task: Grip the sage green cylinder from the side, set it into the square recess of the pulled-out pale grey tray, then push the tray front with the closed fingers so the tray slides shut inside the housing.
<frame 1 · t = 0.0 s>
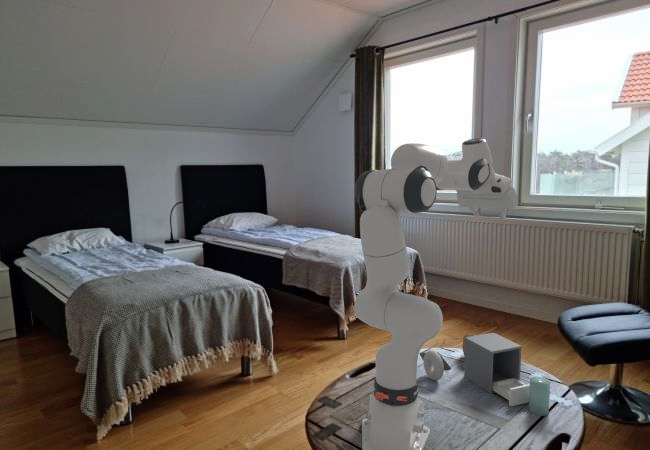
hand: (489, 217, 159), 54 cm above the table, tool tilted 30°, fingers open, 8 cm apart
tray: (512, 385, 144), point 3 cm above the table, slide at 8.0 cm
donut: (433, 379, 156), on the table
smartphone: (434, 362, 170), on the table
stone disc: (470, 360, 170), on the table
housing: (491, 381, 154), on the table
sage green cylinder: (538, 411, 135), on the table
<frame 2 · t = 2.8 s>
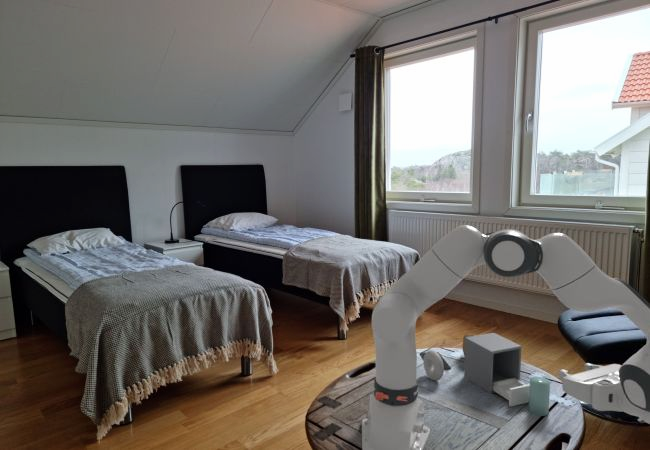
hand: (573, 369, 123), 17 cm above the table, tool horizontal, fingers open, 8 cm apart
nothing on the table moved.
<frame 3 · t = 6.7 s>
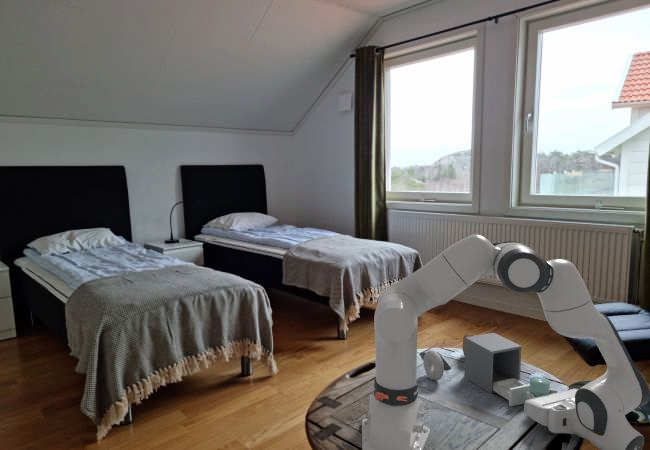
hand: (536, 392, 135), 6 cm above the table, tool horizontal, fingers closed on sage green cylinder, 5 cm apart
sage green cylinder: (538, 411, 135), on the table, touching gripper
everything else where it was.
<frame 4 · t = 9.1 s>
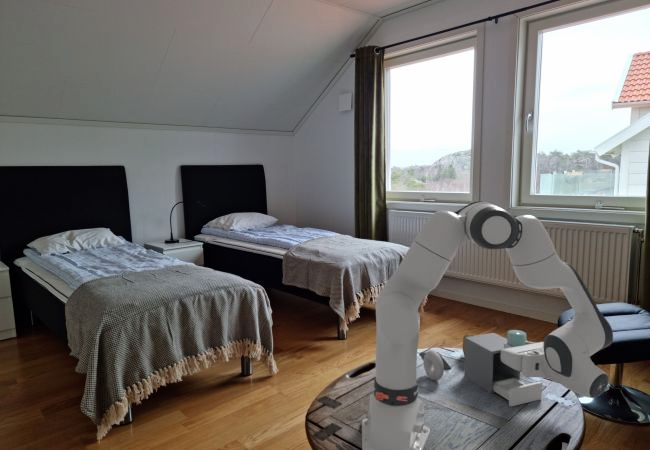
hand: (514, 344, 142), 17 cm above the table, tool horizontal, fingers closed on sage green cylinder, 5 cm apart
sage green cylinder: (515, 362, 142), point 11 cm above the table, touching gripper
everything else where it was.
when the fingers open (9 cm above the table, at t = 11.0 s): sage green cylinder drops 2 cm, resting on tray.
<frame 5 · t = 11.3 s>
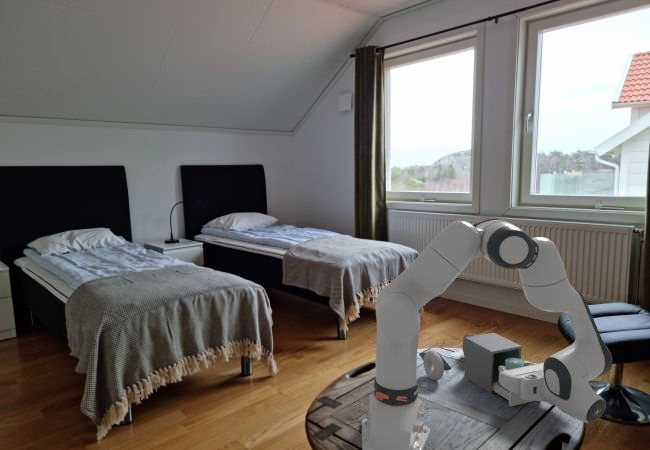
hand: (512, 365, 144), 9 cm above the table, tool horizontal, fingers open, 8 cm apart
tray: (512, 385, 144), point 3 cm above the table, slide at 8.0 cm, touching sage green cylinder
sage green cylinder: (513, 389, 144), point 2 cm above the table, touching tray
everything else where it was.
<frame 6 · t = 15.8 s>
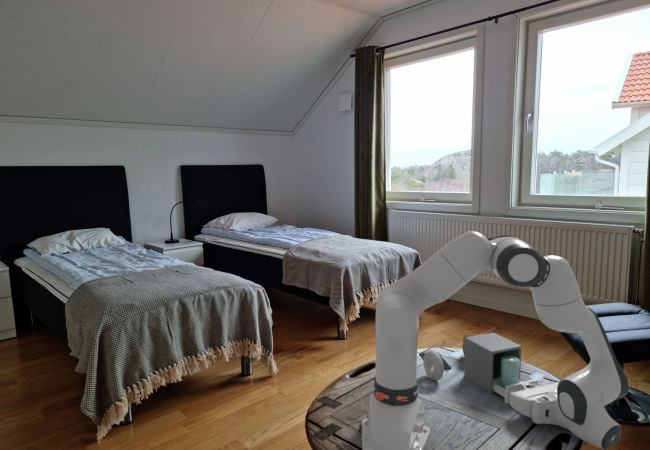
hand: (522, 385, 140), 5 cm above the table, tool horizontal, fingers closed, pressing on tray
tray: (508, 383, 146), point 3 cm above the table, slide at 6.3 cm, touching gripper, sage green cylinder
sage green cylinder: (509, 387, 146), point 2 cm above the table, touching tray
everything else where it was.
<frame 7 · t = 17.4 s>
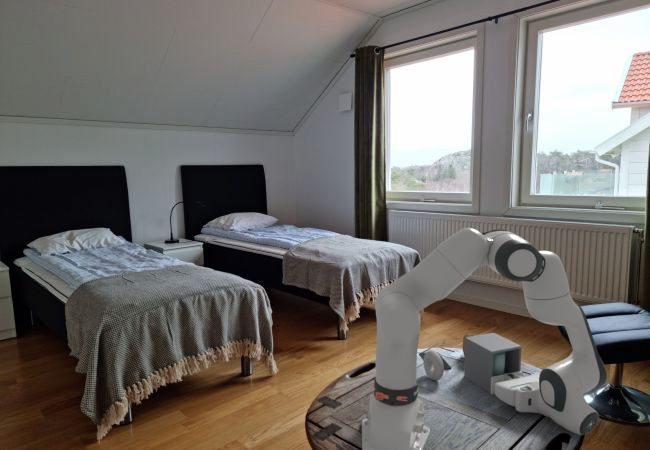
hand: (507, 376, 146), 5 cm above the table, tool horizontal, fingers closed, pressing on tray
tray: (494, 375, 152), point 3 cm above the table, slide at 0.0 cm, touching gripper, sage green cylinder
sage green cylinder: (495, 378, 151), point 2 cm above the table, touching tray
everything else where it was.
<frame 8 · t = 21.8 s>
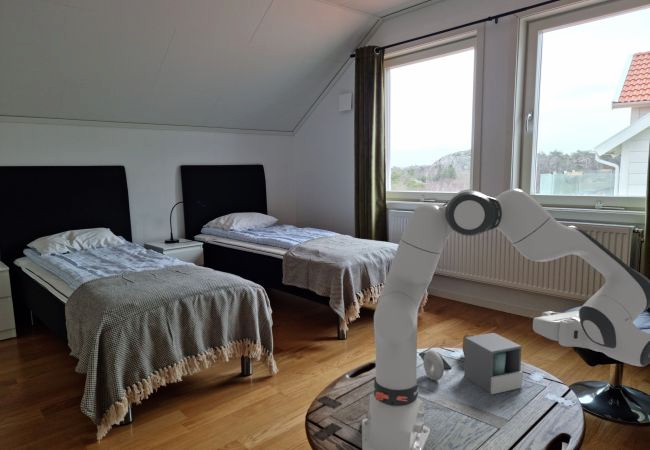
hand: (545, 314, 130), 30 cm above the table, tool horizontal, fingers closed
tray: (494, 375, 152), point 3 cm above the table, slide at 0.0 cm, touching sage green cylinder
everything else where it was.
at the end: tray slide at 0.0 cm; sage green cylinder inside the target area on the housing (0.2 cm from its centre), point 1.9 cm above the housing's base; sage green cylinder tilted 2° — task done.
